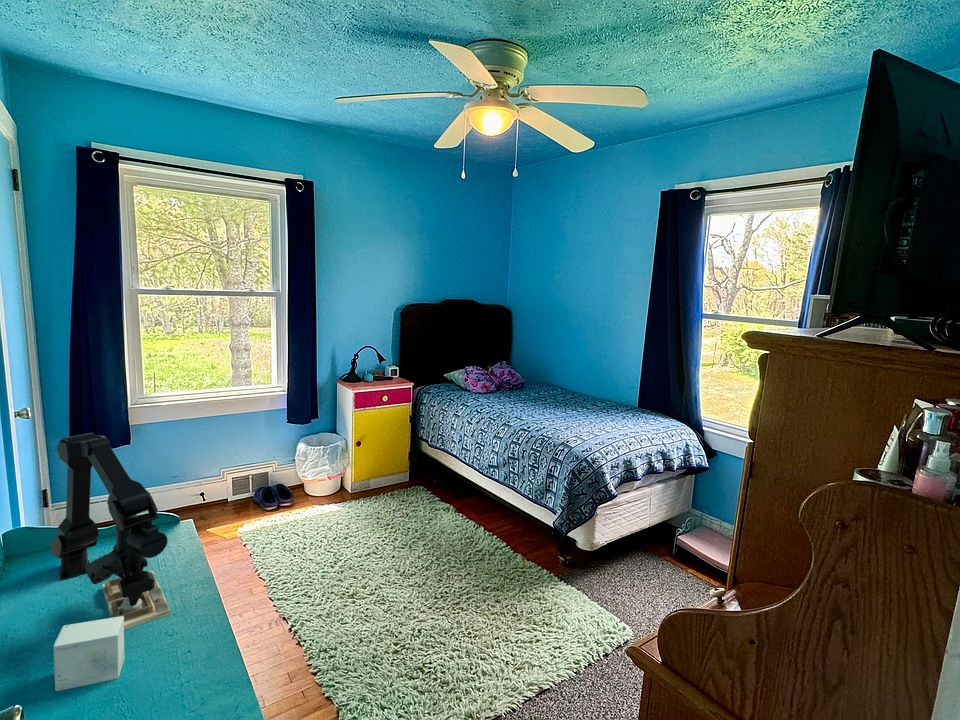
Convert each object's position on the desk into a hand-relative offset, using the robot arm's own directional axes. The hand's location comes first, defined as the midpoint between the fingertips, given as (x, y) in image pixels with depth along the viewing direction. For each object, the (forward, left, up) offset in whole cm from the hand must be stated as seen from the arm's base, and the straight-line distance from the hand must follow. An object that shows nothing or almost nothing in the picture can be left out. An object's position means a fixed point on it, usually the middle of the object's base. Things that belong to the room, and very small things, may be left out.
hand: (131, 601), depth 120 cm
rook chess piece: (0, 0, -3) cm, 2 cm away
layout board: (-5, +2, -4) cm, 6 cm away
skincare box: (+16, -9, -4) cm, 19 cm away
